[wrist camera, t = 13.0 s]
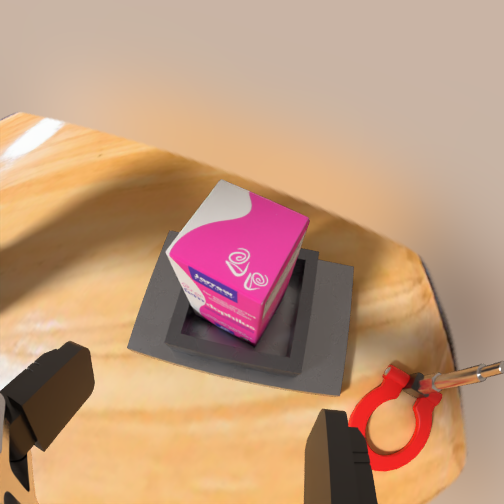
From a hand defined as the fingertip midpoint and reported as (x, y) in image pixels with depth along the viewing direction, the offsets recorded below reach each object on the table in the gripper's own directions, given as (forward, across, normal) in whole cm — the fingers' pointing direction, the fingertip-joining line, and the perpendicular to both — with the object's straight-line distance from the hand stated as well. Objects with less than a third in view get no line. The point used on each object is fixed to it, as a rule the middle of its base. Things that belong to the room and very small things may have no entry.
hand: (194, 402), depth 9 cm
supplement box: (+16, 0, +4) cm, 17 cm away
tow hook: (+12, -15, +11) cm, 22 cm away
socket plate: (+17, 0, +5) cm, 18 cm away
